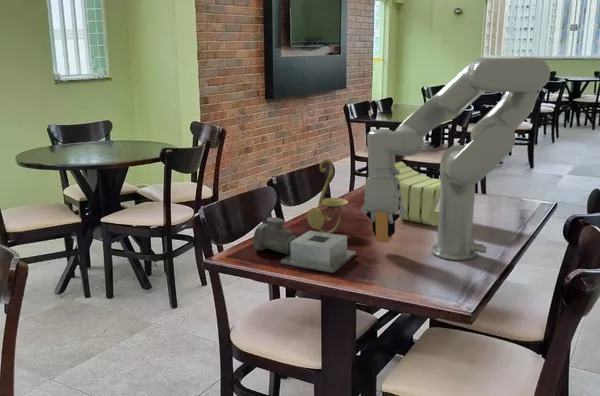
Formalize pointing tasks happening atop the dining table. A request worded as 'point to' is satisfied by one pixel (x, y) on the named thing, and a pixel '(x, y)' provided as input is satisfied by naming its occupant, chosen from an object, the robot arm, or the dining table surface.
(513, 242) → the dining table surface
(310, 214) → the wall sconce
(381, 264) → the dining table surface
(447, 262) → the dining table surface
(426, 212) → the slatted curved stool
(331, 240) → the square hole block
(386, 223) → the orange rectangular block
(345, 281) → the dining table surface
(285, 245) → the pipe fitting
